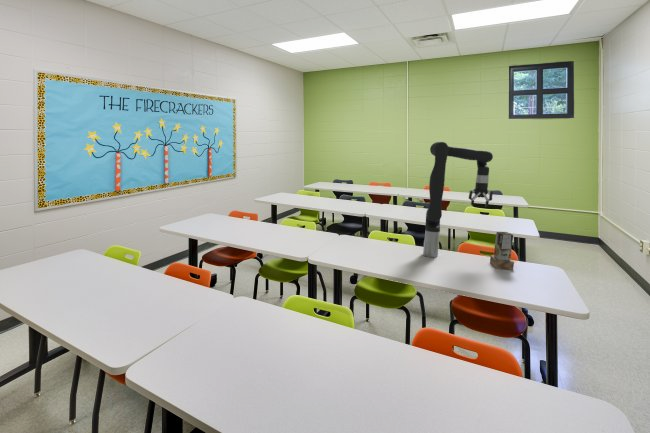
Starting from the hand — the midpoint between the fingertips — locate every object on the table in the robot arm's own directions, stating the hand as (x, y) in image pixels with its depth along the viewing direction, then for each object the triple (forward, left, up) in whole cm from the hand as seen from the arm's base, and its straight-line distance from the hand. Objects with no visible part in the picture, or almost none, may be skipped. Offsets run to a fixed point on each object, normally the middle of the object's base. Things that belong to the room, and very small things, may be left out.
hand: (479, 206), depth 234 cm
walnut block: (+11, -21, -34) cm, 42 cm away
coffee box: (+11, -21, -29) cm, 38 cm away
